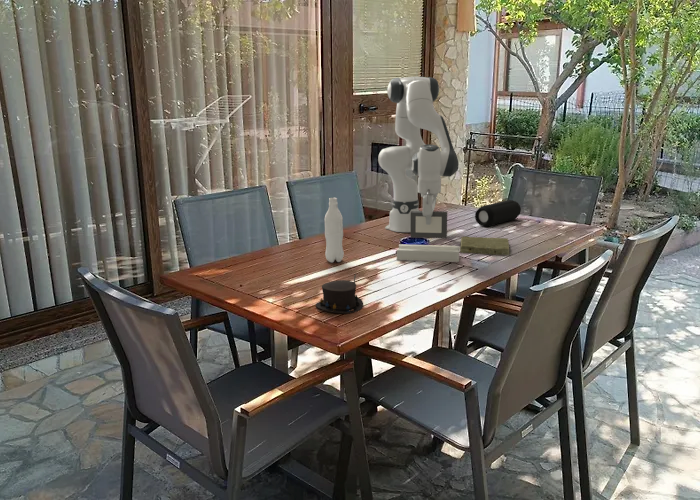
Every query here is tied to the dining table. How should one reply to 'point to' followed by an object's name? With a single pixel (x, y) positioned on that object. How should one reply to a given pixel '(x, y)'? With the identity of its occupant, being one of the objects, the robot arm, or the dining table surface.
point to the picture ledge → (428, 253)
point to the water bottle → (333, 232)
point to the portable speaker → (497, 213)
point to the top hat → (340, 297)
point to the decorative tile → (484, 245)
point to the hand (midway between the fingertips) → (428, 222)
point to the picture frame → (429, 231)
